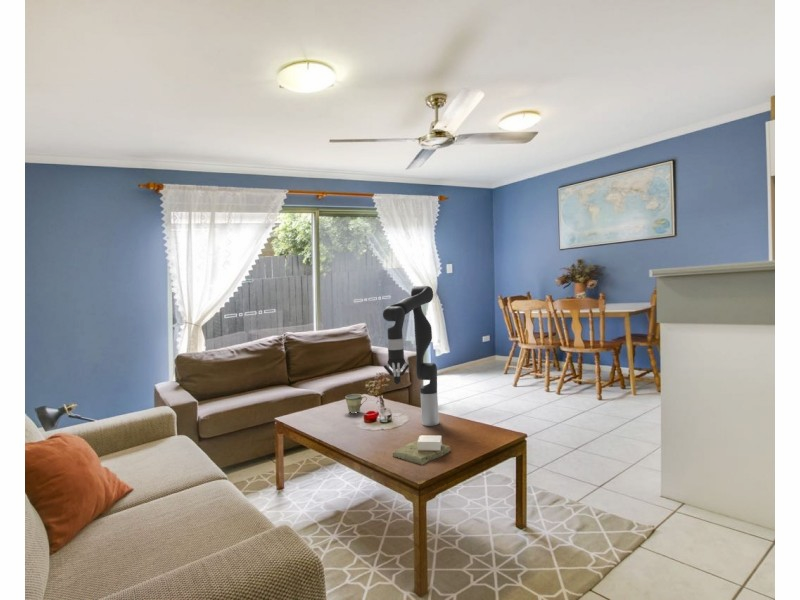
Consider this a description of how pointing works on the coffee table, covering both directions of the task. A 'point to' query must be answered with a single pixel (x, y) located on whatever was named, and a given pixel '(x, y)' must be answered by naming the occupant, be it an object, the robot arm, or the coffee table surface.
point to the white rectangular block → (429, 443)
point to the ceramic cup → (354, 402)
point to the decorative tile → (419, 453)
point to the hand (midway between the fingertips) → (397, 383)
